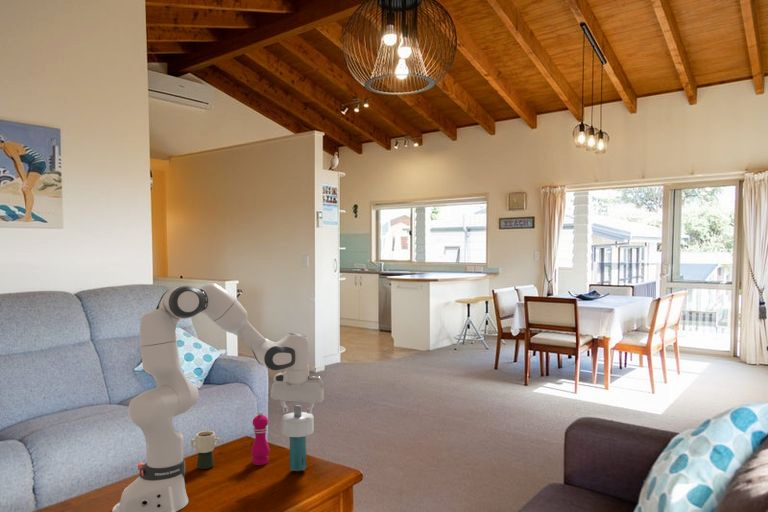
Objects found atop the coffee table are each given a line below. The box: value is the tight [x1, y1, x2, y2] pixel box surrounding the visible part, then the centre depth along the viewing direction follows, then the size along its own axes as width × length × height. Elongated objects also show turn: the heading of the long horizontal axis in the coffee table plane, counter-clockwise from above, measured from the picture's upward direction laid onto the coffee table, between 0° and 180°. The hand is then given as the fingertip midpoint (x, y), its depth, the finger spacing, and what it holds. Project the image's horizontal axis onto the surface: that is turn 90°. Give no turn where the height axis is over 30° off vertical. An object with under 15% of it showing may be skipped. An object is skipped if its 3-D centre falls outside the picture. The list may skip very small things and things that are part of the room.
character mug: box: [190, 430, 221, 470], centre depth 200 cm, size 11×7×13 cm, turn 100°
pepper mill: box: [250, 410, 271, 466], centre depth 205 cm, size 7×7×20 cm
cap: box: [281, 404, 315, 438], centre depth 196 cm, size 12×12×10 cm
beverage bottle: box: [288, 436, 308, 472], centre depth 196 cm, size 6×7×20 cm
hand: (297, 412), depth 196 cm, fingers open, 8 cm apart
